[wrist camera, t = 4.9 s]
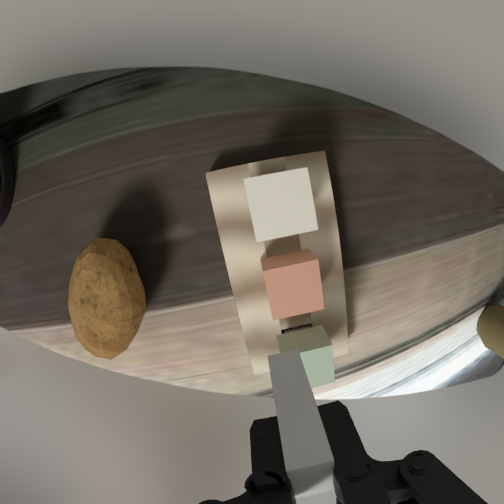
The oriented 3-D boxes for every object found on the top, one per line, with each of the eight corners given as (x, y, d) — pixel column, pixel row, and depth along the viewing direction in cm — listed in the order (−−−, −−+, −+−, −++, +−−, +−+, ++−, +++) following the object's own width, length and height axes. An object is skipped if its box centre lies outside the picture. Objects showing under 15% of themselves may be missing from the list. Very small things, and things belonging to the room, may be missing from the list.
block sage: (274, 325, 31) (280, 356, 25) (317, 315, 30) (332, 344, 24) (280, 359, 32) (287, 393, 26) (321, 350, 32) (334, 382, 26)
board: (208, 173, 28) (205, 172, 26) (318, 152, 28) (324, 150, 26) (253, 363, 34) (254, 374, 32) (342, 343, 34) (348, 353, 32)
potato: (165, 239, 30) (140, 258, 22) (149, 342, 33) (130, 379, 26) (92, 219, 29) (54, 232, 21) (86, 320, 32) (57, 349, 25)
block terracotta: (259, 253, 30) (262, 271, 24) (303, 243, 30) (318, 259, 24) (267, 294, 32) (272, 320, 26) (310, 285, 32) (324, 308, 26)
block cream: (243, 179, 27) (243, 179, 21) (293, 170, 26) (307, 167, 20) (253, 229, 28) (256, 242, 22) (302, 219, 28) (318, 229, 22)
